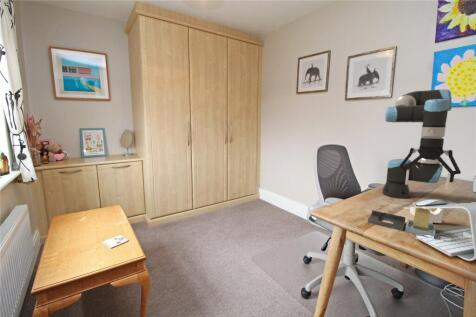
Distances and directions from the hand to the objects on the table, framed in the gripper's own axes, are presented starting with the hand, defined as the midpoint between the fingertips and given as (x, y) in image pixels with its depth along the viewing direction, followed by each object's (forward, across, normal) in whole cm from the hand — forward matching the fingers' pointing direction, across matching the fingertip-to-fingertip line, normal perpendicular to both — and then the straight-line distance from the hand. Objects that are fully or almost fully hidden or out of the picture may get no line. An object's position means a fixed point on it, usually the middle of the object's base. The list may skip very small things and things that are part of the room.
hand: (425, 186), depth 101 cm
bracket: (+21, +1, +18) cm, 28 cm away
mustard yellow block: (+20, 0, 0) cm, 20 cm away
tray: (+20, 0, 0) cm, 21 cm away
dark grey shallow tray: (+20, -13, 0) cm, 24 cm away
